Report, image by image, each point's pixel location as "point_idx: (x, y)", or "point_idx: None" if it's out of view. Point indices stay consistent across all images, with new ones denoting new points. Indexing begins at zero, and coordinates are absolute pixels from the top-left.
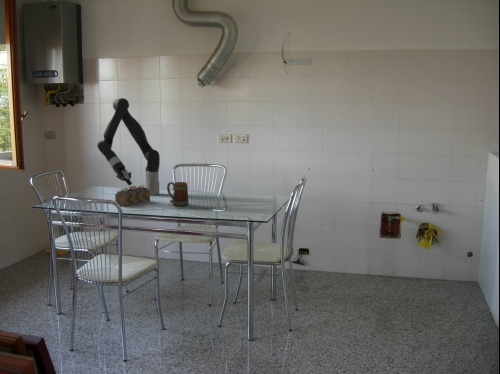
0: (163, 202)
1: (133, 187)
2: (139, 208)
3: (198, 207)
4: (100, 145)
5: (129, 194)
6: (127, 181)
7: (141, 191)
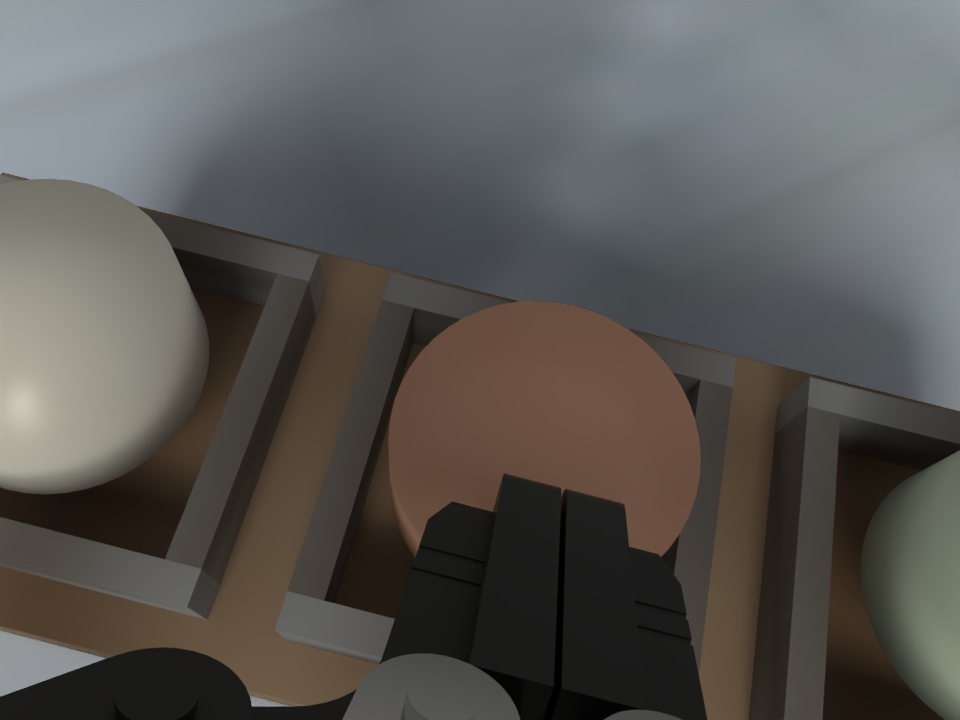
0: (194, 54)
1: (654, 358)
2: (883, 213)
3: None
4: None
5: (925, 403)
6: (695, 683)
7: (323, 294)
